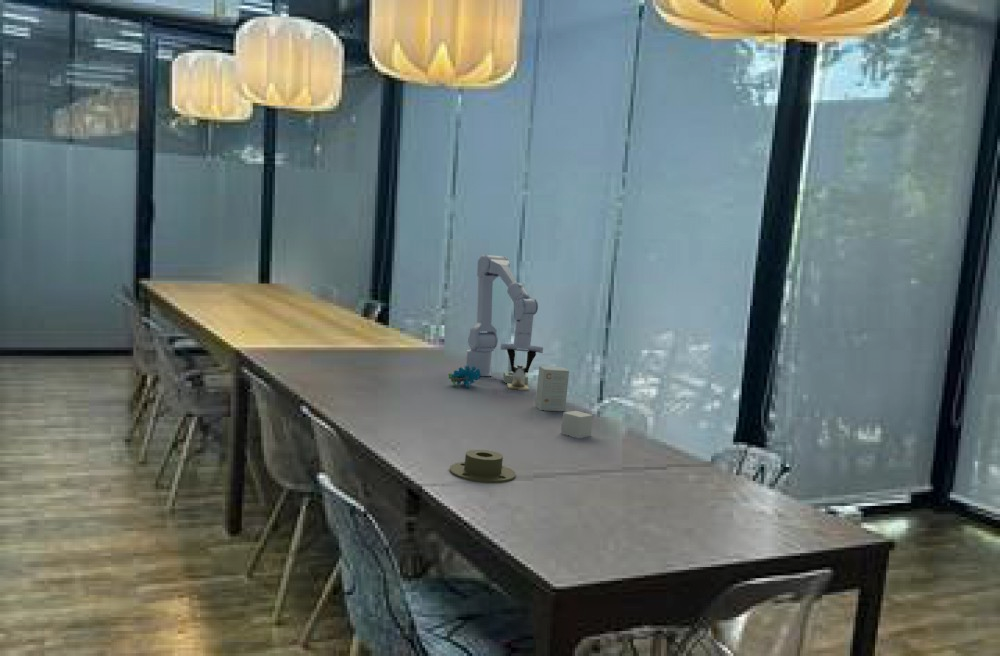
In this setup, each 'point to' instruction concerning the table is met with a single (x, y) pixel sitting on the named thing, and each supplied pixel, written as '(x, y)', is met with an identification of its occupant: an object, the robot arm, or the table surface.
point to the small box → (552, 388)
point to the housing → (508, 377)
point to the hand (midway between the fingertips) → (519, 371)
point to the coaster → (517, 387)
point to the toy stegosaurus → (465, 376)
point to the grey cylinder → (519, 376)
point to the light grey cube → (577, 424)
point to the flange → (483, 467)
